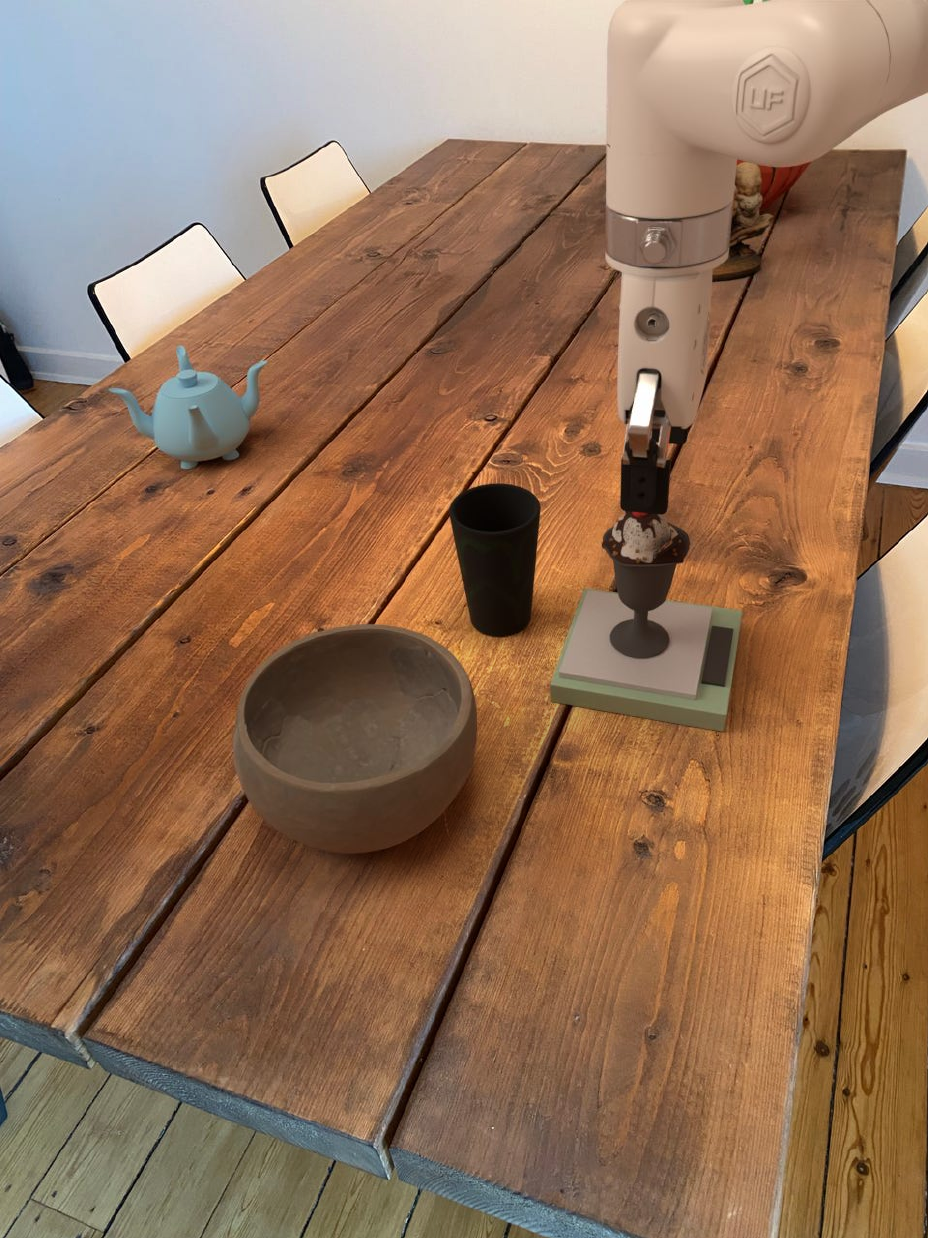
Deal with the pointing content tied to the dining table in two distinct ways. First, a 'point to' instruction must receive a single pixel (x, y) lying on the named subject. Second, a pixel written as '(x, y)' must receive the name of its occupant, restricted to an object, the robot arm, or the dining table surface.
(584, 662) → the scale
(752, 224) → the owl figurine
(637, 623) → the sundae
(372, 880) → the dining table surface
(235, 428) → the teapot
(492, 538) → the cup
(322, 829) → the bowl
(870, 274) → the dining table surface
